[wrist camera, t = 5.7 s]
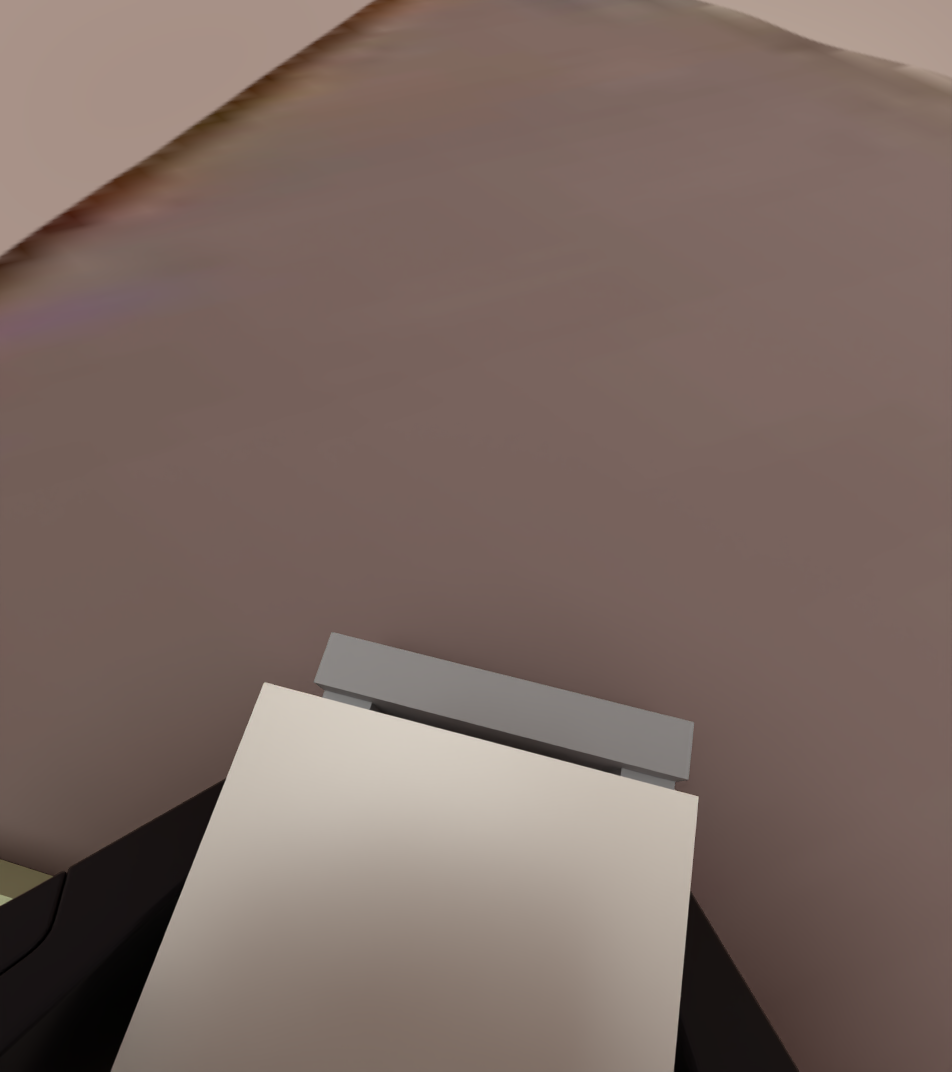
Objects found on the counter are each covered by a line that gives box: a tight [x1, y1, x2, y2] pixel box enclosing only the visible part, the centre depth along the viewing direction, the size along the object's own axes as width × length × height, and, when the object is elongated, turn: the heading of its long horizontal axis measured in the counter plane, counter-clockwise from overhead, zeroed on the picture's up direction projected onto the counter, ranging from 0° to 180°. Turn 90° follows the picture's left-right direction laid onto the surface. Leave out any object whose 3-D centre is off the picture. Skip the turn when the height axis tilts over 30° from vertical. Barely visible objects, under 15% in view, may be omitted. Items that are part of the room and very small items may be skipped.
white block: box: [111, 682, 699, 1072], centre depth 10 cm, size 4×4×10 cm
